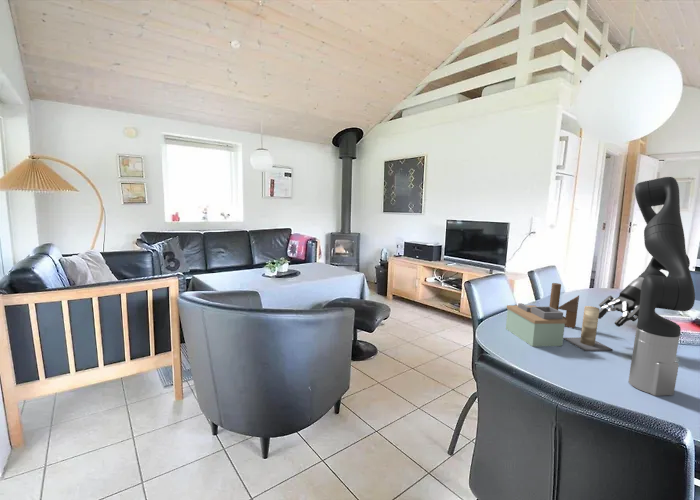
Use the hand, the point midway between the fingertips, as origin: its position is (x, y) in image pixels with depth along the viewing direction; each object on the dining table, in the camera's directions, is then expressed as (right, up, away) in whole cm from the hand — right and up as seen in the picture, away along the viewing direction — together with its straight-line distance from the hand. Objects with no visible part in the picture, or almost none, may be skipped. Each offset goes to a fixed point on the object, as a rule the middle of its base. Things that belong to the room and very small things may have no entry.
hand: (606, 321), depth 130 cm
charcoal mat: (-7, -9, 0) cm, 12 cm away
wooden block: (-4, -6, +23) cm, 24 cm away
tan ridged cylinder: (-7, -9, 0) cm, 11 cm away
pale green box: (-25, -8, +6) cm, 27 cm away
